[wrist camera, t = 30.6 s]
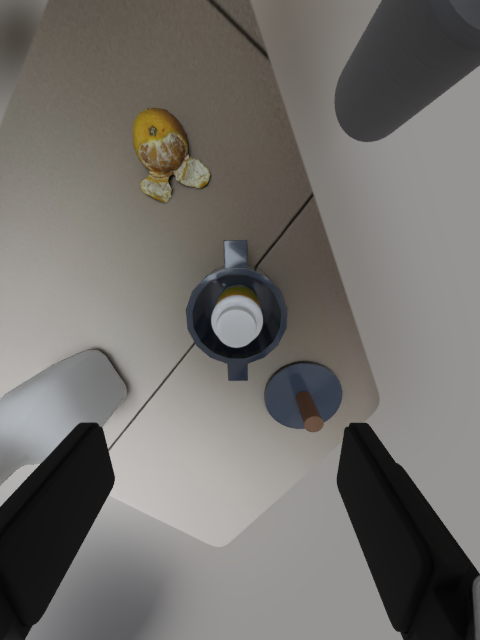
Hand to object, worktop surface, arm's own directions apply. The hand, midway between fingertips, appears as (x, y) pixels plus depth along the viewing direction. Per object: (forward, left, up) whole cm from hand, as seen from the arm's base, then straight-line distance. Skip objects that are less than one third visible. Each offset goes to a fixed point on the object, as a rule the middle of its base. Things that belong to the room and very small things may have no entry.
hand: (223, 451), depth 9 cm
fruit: (+8, -17, -24) cm, 31 cm away
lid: (-10, +15, -24) cm, 30 cm away
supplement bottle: (0, 0, -24) cm, 24 cm away
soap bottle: (+23, +12, -24) cm, 36 cm away
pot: (0, 0, -24) cm, 24 cm away
